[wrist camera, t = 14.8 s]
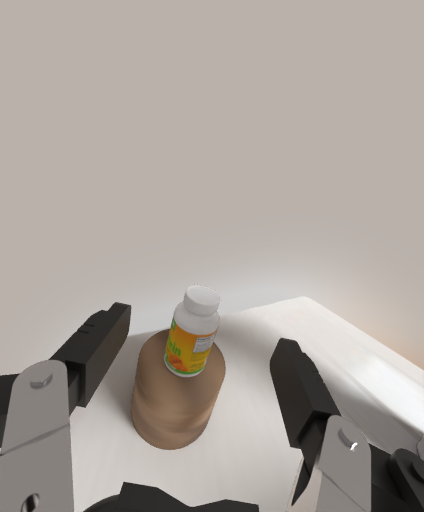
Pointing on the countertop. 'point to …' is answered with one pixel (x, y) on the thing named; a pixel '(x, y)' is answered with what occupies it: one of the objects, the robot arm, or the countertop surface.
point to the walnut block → (173, 396)
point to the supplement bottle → (192, 331)
